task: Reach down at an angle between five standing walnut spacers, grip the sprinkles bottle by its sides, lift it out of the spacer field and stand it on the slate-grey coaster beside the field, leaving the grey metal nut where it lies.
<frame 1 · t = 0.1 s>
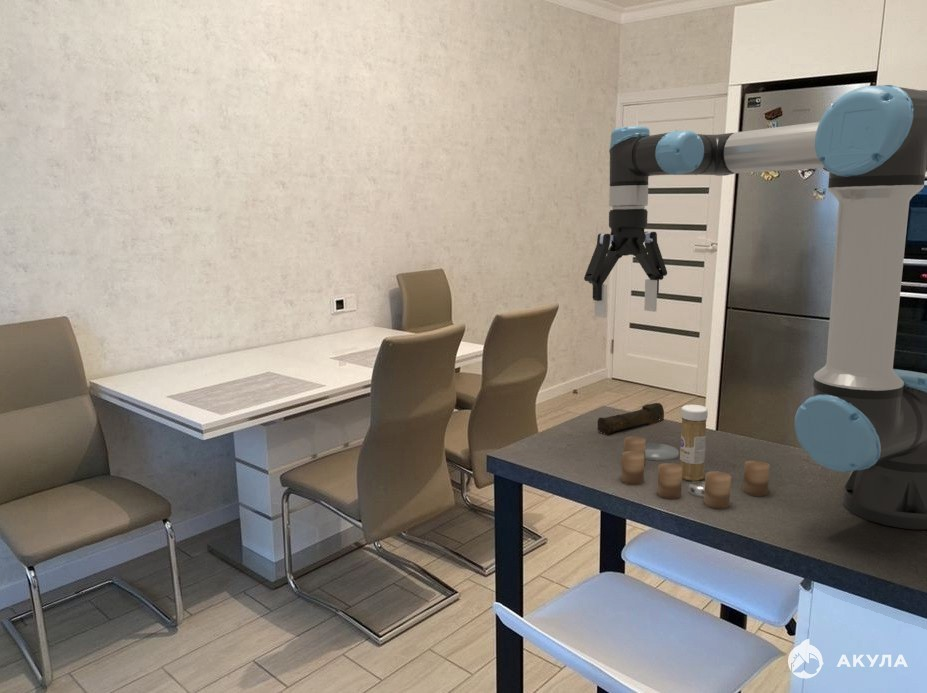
hand: (625, 313, 145), 28 cm above the breakfast bar, tool pointing down, fingers open, 13 cm apart
coaster: (655, 453, 144), on the breakfast bar
sprinkles bottle: (691, 478, 131), on the breakfast bar
dark brown elongated piece: (631, 427, 162), on the breakfast bar
spacer field: (668, 478, 131), on the breakfast bar
nut: (700, 493, 124), on the breakfast bar
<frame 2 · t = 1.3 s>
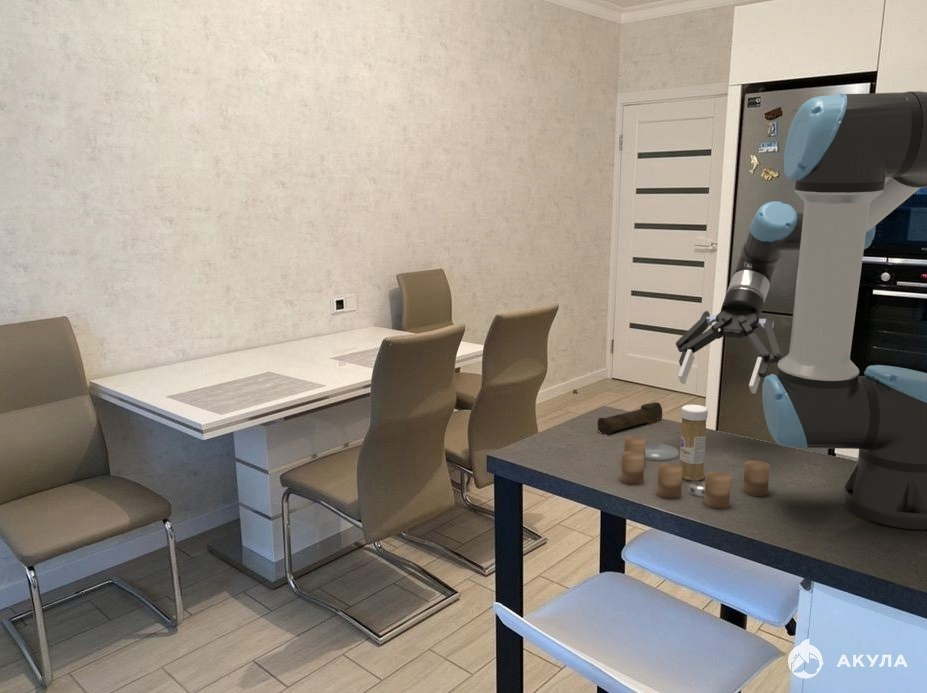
hand: (715, 384, 136), 15 cm above the breakfast bar, tool tilted 45°, fingers open, 13 cm apart
nothing on the breakfast bar moved.
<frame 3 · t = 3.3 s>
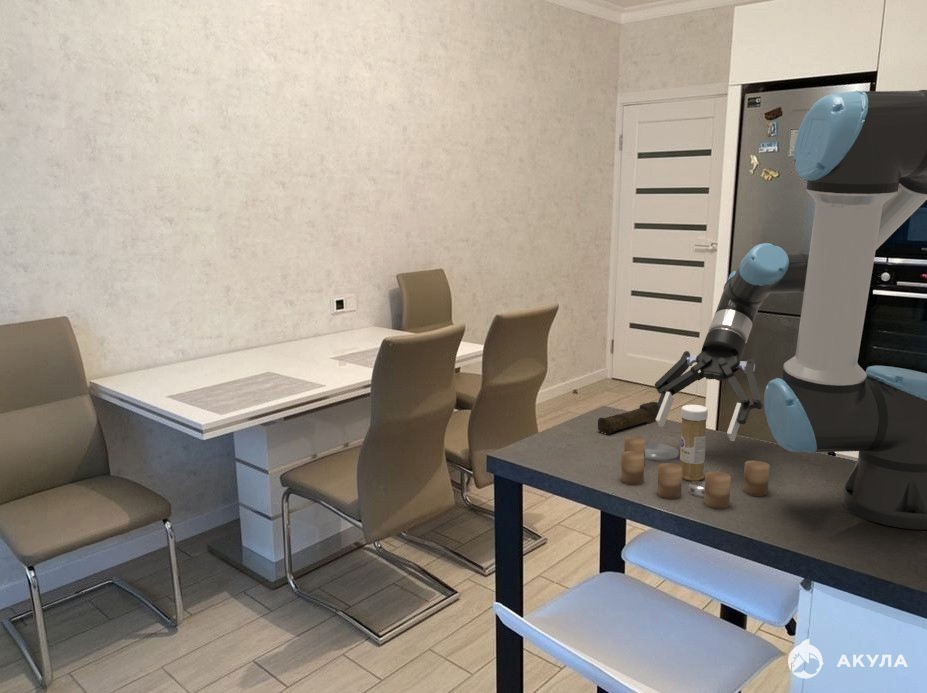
hand: (693, 430, 132), 8 cm above the breakfast bar, tool tilted 45°, fingers open, 13 cm apart
nothing on the breakfast bar moved.
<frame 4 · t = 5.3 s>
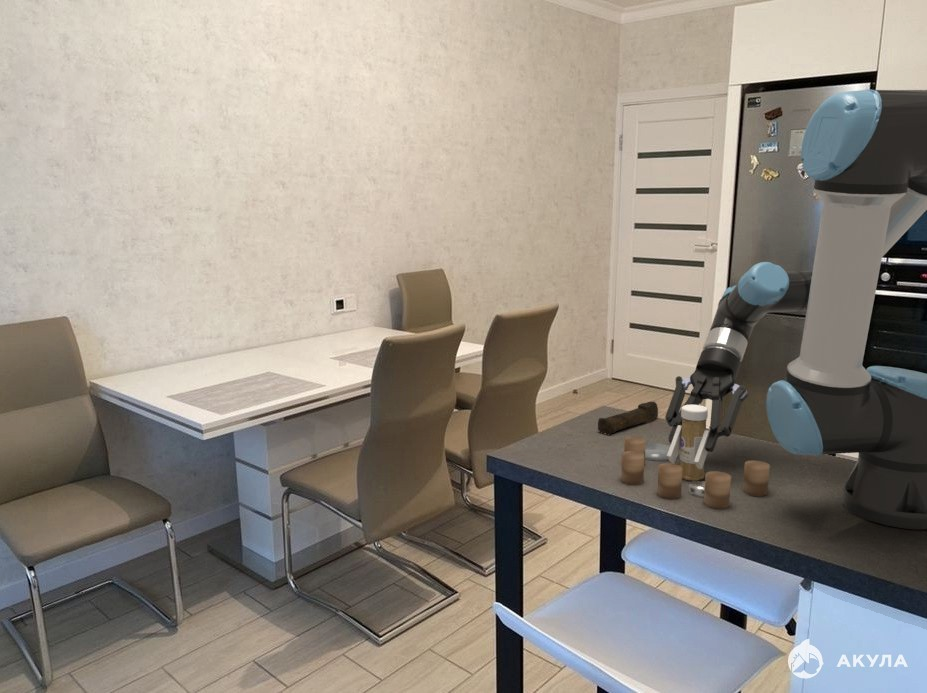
hand: (684, 462, 127), 4 cm above the breakfast bar, tool tilted 45°, fingers closed on sprinkles bottle, 4 cm apart
sprinkles bottle: (691, 478, 131), on the breakfast bar, touching gripper
everything else where it was.
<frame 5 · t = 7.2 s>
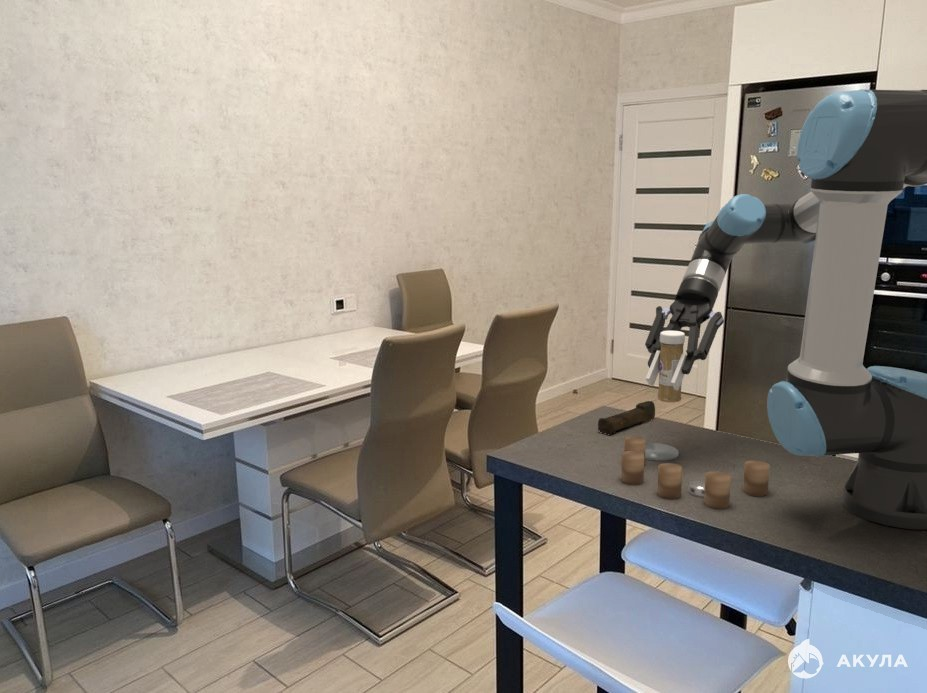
hand: (661, 384, 134), 16 cm above the breakfast bar, tool tilted 45°, fingers closed on sprinkles bottle, 4 cm apart
sprinkles bottle: (669, 400, 138), point 12 cm above the breakfast bar, touching gripper
when the fingers open (6 cm above the breakfast bar, at t = 9.5 s): sprinkles bottle drops 1 cm, resting on coaster.
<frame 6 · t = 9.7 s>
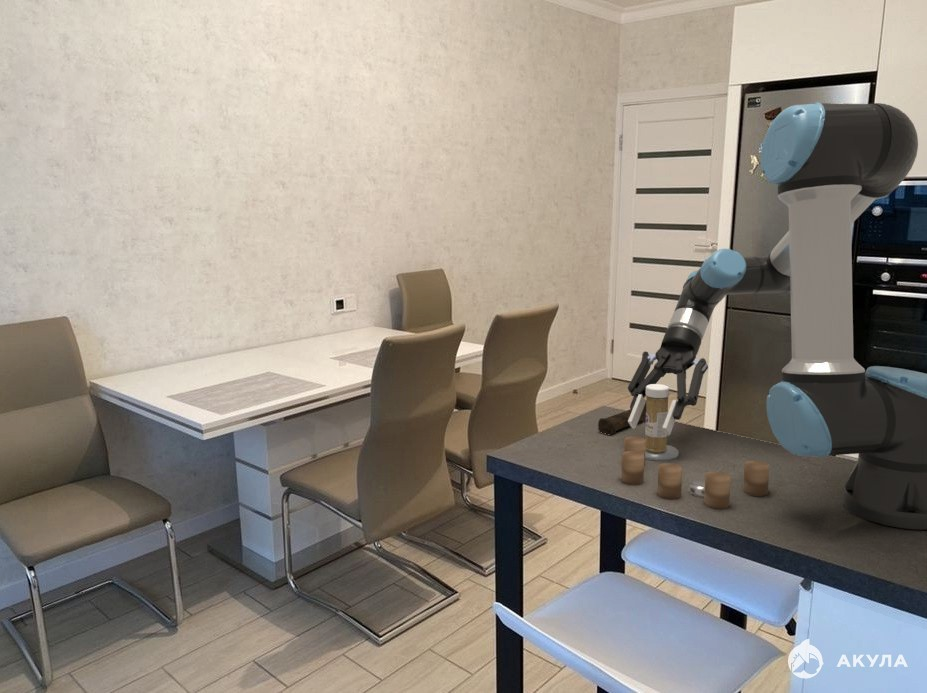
hand: (648, 428, 140), 6 cm above the breakfast bar, tool tilted 45°, fingers open, 7 cm apart
sprinkles bottle: (655, 451, 144), resting on coaster
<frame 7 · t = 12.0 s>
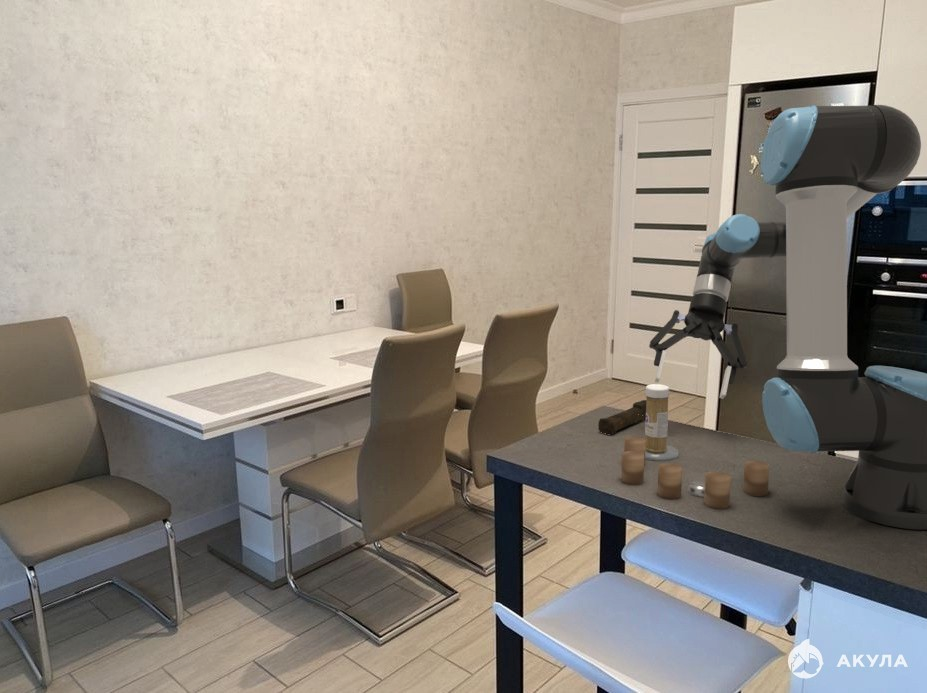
hand: (689, 388, 150), 11 cm above the breakfast bar, tool tilted 35°, fingers open, 13 cm apart
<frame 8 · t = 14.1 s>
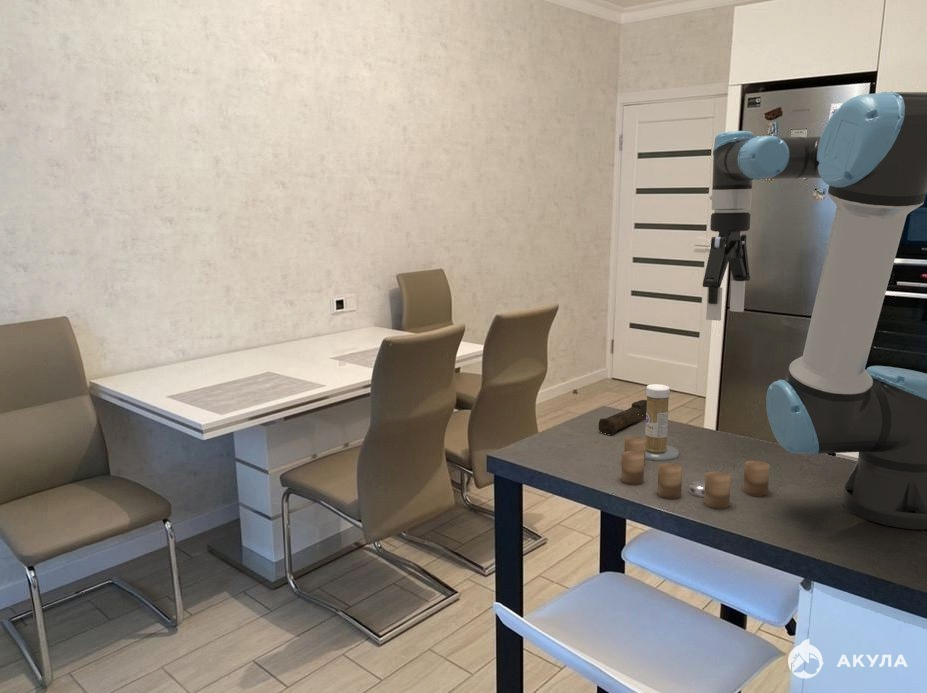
hand: (725, 315, 147), 27 cm above the breakfast bar, tool pointing down, fingers open, 13 cm apart
at the end: sprinkles bottle 0.1 cm from the coaster (horizontally); sprinkles bottle tilted 0°; the gripper is holding nothing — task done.
